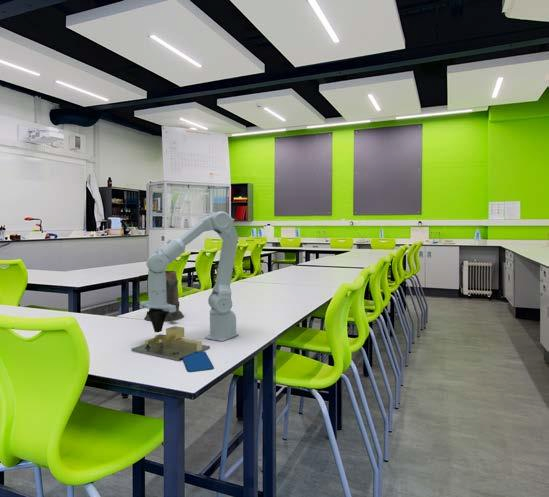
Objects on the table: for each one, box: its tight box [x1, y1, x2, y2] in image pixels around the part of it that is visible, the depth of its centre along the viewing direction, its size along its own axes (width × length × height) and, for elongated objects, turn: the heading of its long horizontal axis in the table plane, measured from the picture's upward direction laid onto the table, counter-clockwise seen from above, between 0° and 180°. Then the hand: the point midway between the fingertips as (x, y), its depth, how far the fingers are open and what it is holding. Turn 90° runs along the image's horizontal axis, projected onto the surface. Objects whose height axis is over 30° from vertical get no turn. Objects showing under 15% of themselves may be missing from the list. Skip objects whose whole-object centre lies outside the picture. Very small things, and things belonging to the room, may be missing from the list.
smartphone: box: [181, 351, 215, 373], centre depth 115 cm, size 7×1×15 cm
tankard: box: [143, 270, 185, 323], centre depth 170 cm, size 24×17×20 cm
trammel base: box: [130, 333, 211, 362], centre depth 127 cm, size 14×20×3 cm
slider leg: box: [159, 325, 185, 350], centre depth 127 cm, size 8×4×5 cm, turn 150°
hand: (158, 331), depth 132 cm, fingers closed
